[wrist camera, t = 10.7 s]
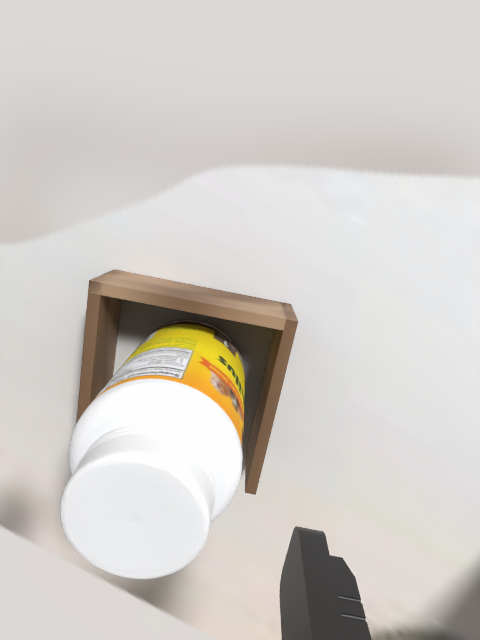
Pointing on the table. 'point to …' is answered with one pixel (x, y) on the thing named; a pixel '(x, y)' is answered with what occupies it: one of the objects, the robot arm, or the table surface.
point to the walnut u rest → (192, 299)
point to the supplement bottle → (157, 453)
